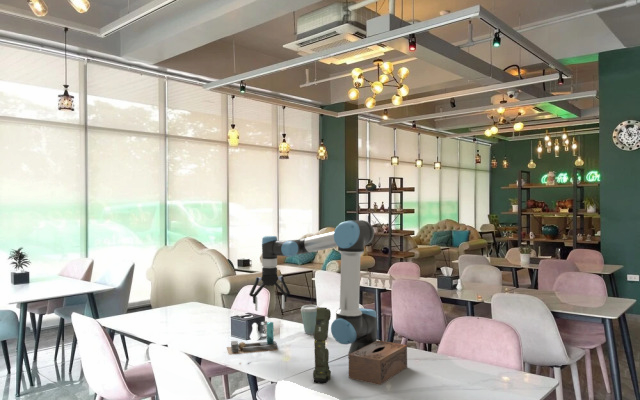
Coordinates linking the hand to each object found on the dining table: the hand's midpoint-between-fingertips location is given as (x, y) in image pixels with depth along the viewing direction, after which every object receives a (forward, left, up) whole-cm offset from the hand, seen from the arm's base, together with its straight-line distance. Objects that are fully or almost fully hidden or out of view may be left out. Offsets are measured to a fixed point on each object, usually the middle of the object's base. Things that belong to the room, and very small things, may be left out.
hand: (269, 309), depth 244 cm
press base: (0, +9, -20) cm, 22 cm away
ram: (0, +1, -18) cm, 18 cm away
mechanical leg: (-47, -14, -20) cm, 53 cm away
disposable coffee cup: (+26, -27, -20) cm, 43 cm away
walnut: (0, +14, -19) cm, 23 cm away
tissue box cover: (-47, -39, -21) cm, 65 cm away
